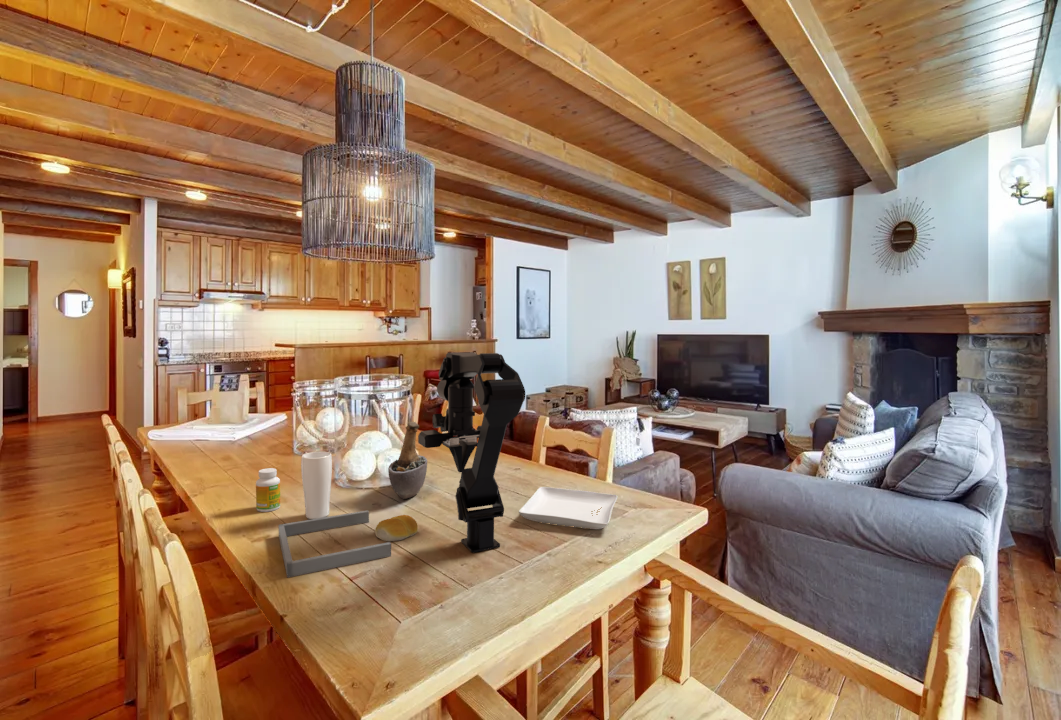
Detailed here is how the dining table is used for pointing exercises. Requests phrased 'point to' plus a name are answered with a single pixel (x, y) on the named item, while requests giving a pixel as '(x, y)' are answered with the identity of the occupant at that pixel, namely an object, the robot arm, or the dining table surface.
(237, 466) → the dining table surface
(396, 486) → the mortar and pestle
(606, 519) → the salad plate
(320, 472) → the drinking glass
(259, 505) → the supplement bottle
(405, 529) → the bread roll
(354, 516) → the gray three-sided bracket
